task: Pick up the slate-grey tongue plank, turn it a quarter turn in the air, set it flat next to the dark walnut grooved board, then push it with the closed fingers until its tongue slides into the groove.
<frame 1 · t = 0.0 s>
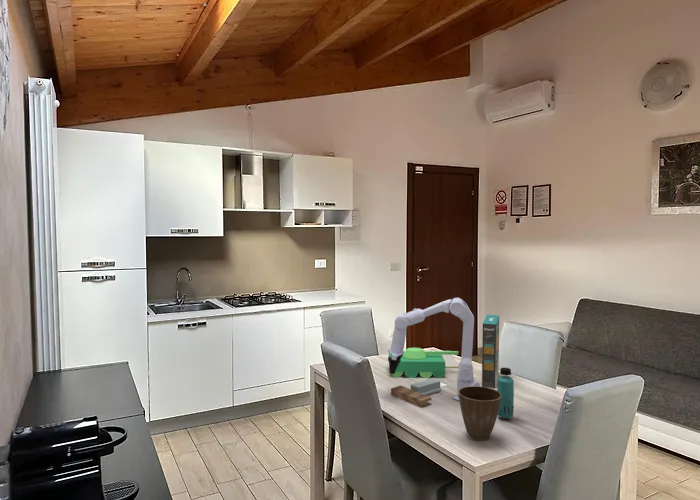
hand: (393, 370, 221), 11 cm above the table, tool pointing down, fingers open, 7 cm apart
tongue plank: (425, 392, 224), on the table
plant pot: (479, 436, 179), on the table
grooved board: (410, 399, 215), on the table
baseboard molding: (443, 361, 275), on the table
cake mix box: (490, 380, 240), on the table
beverage bottle: (504, 418, 194), on the table
toy tank: (423, 373, 253), on the table
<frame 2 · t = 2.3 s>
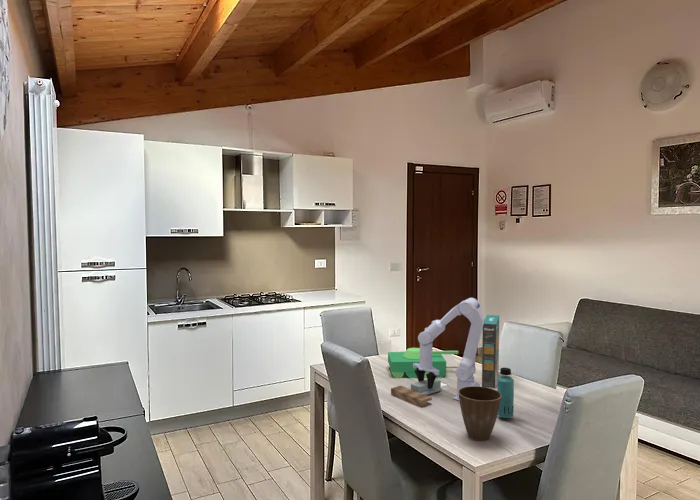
hand: (425, 386, 224), 2 cm above the table, tool pointing down, fingers closed on tongue plank, 5 cm apart
tongue plank: (425, 392, 224), on the table, touching gripper
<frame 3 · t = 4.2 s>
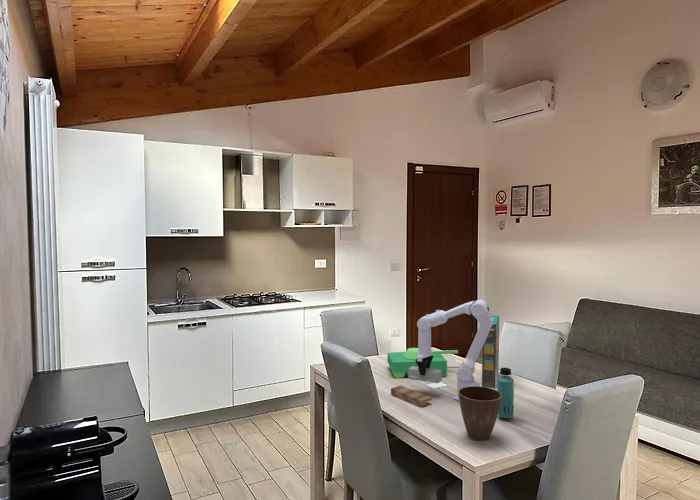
hand: (424, 373, 221), 9 cm above the table, tool pointing down, fingers closed on tongue plank, 5 cm apart
tongue plank: (424, 379, 221), point 7 cm above the table, touching gripper
when the fingers open (3 cm above the table, at t = 6.1 s): tongue plank stays where it is, on the table.
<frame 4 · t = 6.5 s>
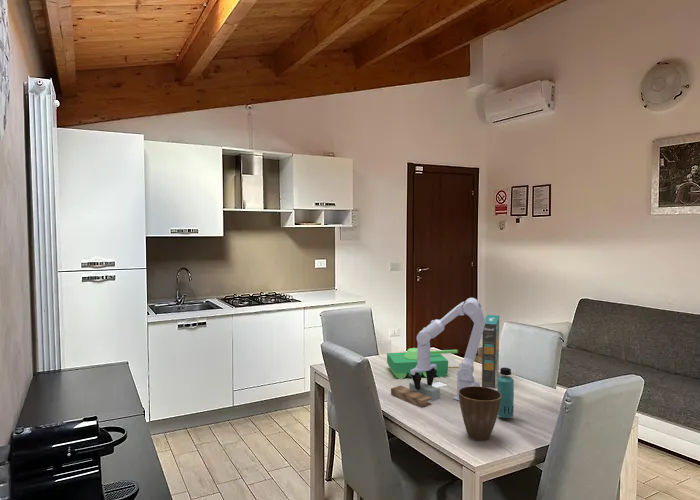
hand: (423, 387, 220), 3 cm above the table, tool pointing down, fingers open, 7 cm apart
tongue plank: (424, 395, 221), on the table
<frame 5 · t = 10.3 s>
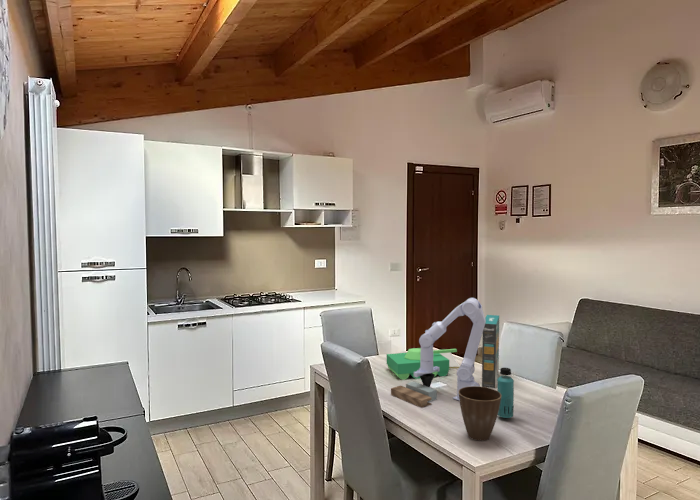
hand: (426, 389, 222), 2 cm above the table, tool pointing down, fingers closed
tongue plank: (421, 396, 219), on the table, touching gripper
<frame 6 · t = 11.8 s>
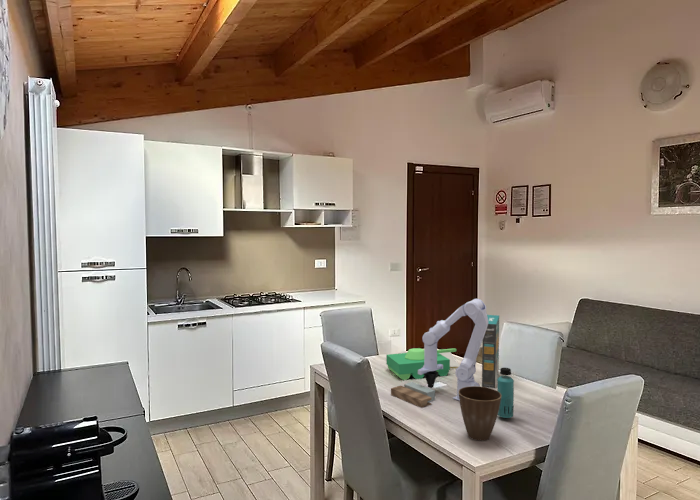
hand: (430, 387, 223), 2 cm above the table, tool pointing down, fingers closed
tongue plank: (419, 397, 219), on the table, touching grooved board
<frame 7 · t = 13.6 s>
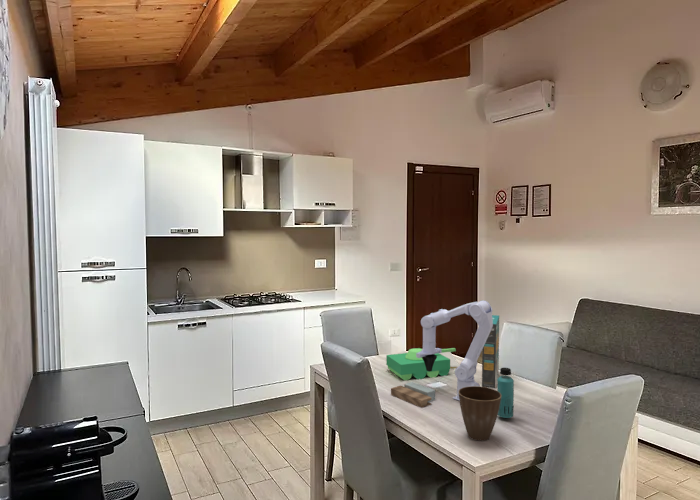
hand: (429, 370, 225), 9 cm above the table, tool pointing down, fingers closed
at the end: tongue plank 0.3 cm from the target spot on the table beside the grooved board, on the table; tongue plank tilted 0°; the gripper is holding nothing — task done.
